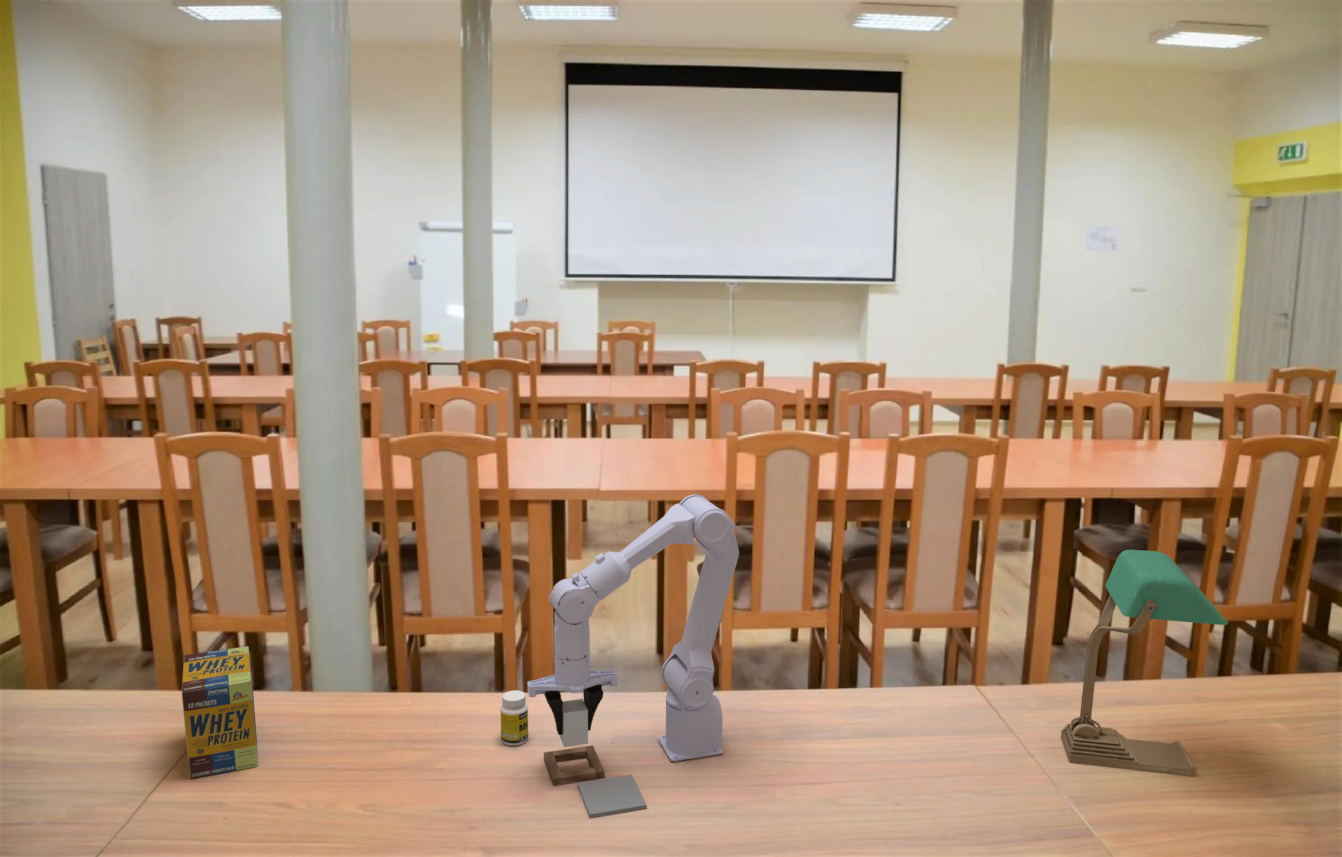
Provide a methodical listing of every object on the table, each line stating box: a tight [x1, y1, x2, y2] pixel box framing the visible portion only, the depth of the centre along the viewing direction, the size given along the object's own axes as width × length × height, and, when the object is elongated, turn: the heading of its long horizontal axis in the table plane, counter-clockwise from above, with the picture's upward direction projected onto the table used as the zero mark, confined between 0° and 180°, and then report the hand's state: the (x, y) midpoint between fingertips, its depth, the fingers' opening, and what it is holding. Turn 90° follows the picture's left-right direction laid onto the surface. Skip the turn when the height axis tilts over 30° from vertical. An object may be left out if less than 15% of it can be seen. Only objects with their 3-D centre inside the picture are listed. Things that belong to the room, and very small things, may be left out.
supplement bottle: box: [500, 690, 529, 747], centre depth 174 cm, size 5×5×8 cm
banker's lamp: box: [1060, 549, 1229, 777], centre depth 168 cm, size 16×21×35 cm
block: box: [559, 698, 589, 748], centre depth 164 cm, size 4×4×6 cm
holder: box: [543, 744, 606, 787], centre depth 166 cm, size 8×8×1 cm
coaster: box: [577, 774, 648, 819], centre depth 158 cm, size 9×9×1 cm
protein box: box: [181, 645, 259, 780], centre depth 169 cm, size 10×15×16 cm
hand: (573, 729), depth 165 cm, fingers closed on block, 4 cm apart
